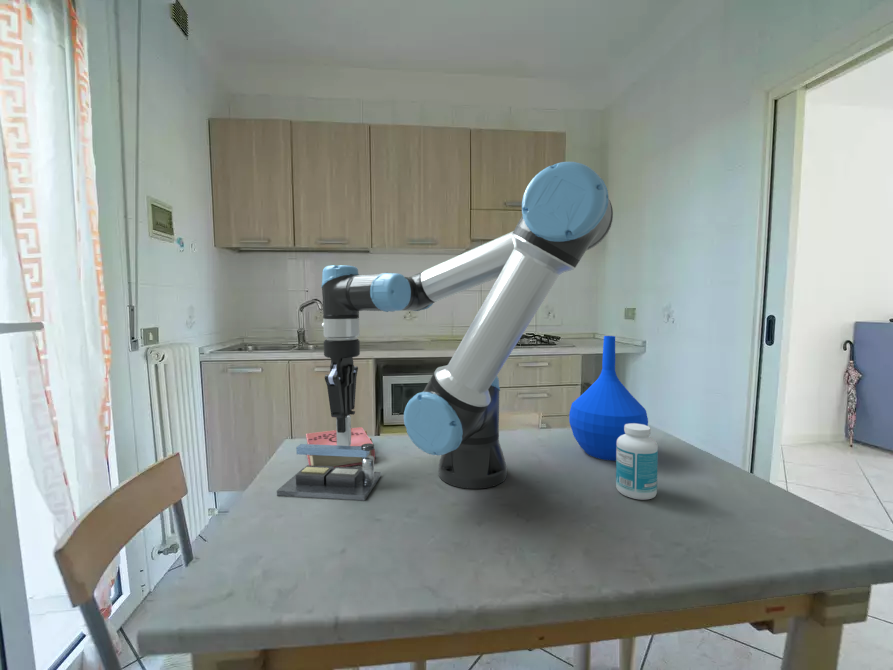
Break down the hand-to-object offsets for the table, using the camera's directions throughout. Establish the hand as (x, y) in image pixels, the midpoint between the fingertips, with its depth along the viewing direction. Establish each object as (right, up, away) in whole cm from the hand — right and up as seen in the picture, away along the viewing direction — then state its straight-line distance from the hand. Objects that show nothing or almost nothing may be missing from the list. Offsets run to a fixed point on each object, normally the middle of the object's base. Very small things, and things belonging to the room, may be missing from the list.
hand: (344, 445), depth 87 cm
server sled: (-2, -7, -4) cm, 9 cm away
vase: (+63, -6, +13) cm, 65 cm away
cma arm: (0, -1, -5) cm, 5 cm away
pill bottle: (+60, -8, -8) cm, 62 cm away
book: (-4, -7, +12) cm, 14 cm away
